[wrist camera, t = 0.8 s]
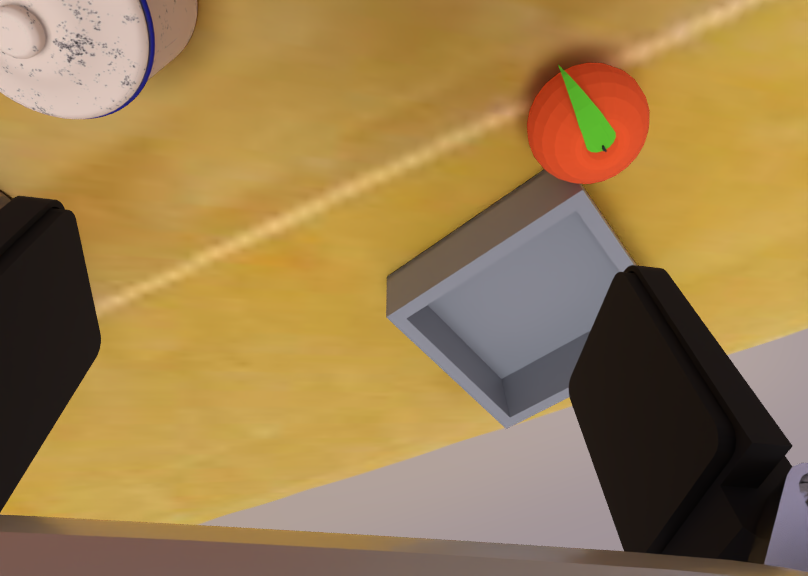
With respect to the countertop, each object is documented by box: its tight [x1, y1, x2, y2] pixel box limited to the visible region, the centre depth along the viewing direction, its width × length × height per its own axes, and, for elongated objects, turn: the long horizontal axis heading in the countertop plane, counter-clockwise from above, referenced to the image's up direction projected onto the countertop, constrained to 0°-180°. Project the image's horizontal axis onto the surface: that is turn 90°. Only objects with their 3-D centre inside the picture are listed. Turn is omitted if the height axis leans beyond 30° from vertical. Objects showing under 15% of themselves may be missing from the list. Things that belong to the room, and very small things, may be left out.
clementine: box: [527, 63, 649, 184], centre depth 33 cm, size 8×7×7 cm
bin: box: [386, 169, 637, 429], centre depth 43 cm, size 16×16×5 cm
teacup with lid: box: [0, 0, 197, 119], centre depth 28 cm, size 12×9×12 cm
